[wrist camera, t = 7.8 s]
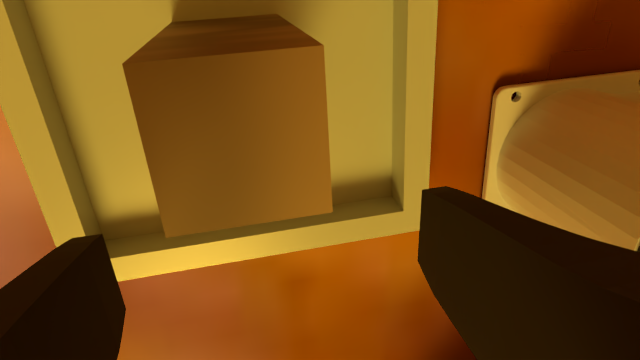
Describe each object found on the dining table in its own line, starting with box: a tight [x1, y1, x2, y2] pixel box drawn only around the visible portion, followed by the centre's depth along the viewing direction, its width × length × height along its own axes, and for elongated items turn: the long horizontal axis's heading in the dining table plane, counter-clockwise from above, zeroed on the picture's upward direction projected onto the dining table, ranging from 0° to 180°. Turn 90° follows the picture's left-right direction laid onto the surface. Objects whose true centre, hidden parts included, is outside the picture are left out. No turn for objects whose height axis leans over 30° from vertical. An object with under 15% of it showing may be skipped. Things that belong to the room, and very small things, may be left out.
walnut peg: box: [122, 14, 333, 238], centre depth 14 cm, size 4×4×9 cm
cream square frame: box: [0, 0, 438, 282], centre depth 17 cm, size 16×16×2 cm
